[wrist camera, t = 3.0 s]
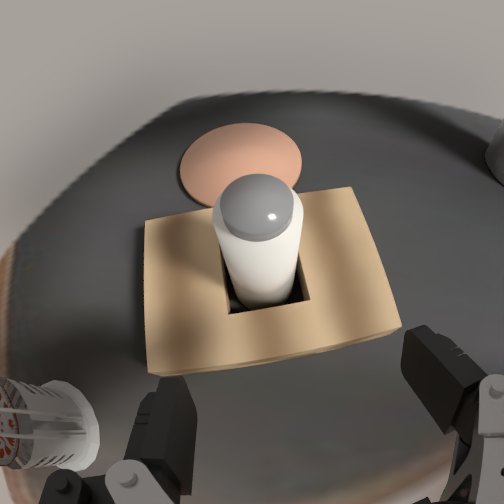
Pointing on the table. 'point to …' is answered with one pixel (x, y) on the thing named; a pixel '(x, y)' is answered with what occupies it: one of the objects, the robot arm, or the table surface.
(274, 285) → the pepper mill
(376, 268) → the mill caddy
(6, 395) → the french press
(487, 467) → the robot arm
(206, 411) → the table surface
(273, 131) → the terracotta plate
